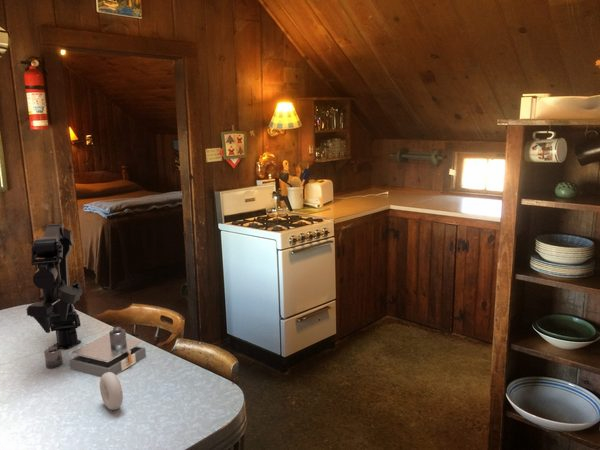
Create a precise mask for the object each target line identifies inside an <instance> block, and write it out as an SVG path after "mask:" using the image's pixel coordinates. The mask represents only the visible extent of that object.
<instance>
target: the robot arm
mask: <svg viewBox="0 0 600 450" xmlns="http://www.w3.org/2000/svg"><path fill="white" fill-rule="evenodd" d="M72 246H74V239H73V234H72V232H71V230H69V229H67V228H65V227H64V224H60V223H58V224H57V223H55V224H54V223H53V224H48V225H46V226H45V231H44V233H43V234H42V236H41V237H37V238H35V239H34V241H33V243H31V256H30V257H31V260H30V261H31V263H30V264H31V266H36V267H37V270H36V271H35V273H34V275H33V277H32V282H33V284H34V286H35V287H36V288H39V289H40V290H41V295H40V296H39V301H38V302H37V301H35V302H34V303H32V304H30V305H28V307H27V308H26V309H25V310H26V316H30V317H32V318H33V319H34V320H35V321H36V322H37V323H38V324H39V325H40V327H41V329H43V331H44V332H45V333H46V334H49V333H50V332H55V337H56V343H54V344H53V345H55V346H57V347H59V348H61V349H64V350H67V349H69V348H72V347H74V346H76V345H78V344H80V343H82V341H81V340H80V339H78V333H77V329H79V327H81V319H80V315H79V314H78V312H77V310H76V308H75V306H74V304H75V303H76V302H77V301H79V300H80V299H81V298H80V297H81V295H82V294H83V293H84V291H83V287H82V283H79V282H76V283H74V284H72V285H71V284H70V285H69V270H68V269H69V268H68V258H69V256H70V255H71V253H72Z"/></svg>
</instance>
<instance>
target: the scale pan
mask: <svg viewBox="0 0 600 450" xmlns="http://www.w3.org/2000/svg"><path fill="white" fill-rule="evenodd" d="M126 342H127V346H126V347H125V348H123V349H120V350H113V349H111V345H110V335H109V333H107V334H105V335H103V336H101V337H98V338H97V339H95V340H93V341H90V342H88V343H86V344H85V345H83V346H81V347H79V348H77V349H75V350H73V351H71V352H70V354H71V355H74V356H82V357H86V358H91V360H96V361H100V362H105V363H109V362H111V361H113V360H114V359H116V358H118V357H120V356H122V355H123V354H126V353H128V354H127V357H128V359H129V362H128V363H129V364H130V363H132V360H131V349H132V348H134V347H136V346H140V344H143V340H139V339H133V338H128V337H126Z"/></svg>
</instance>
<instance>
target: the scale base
mask: <svg viewBox="0 0 600 450" xmlns="http://www.w3.org/2000/svg"><path fill="white" fill-rule="evenodd" d="M146 351H147V350H146V347H143V346H140V345H138V346H136V347H134V348H132V349H131V360H132V363H130V364H129V363H128V362H129V359H128V356H126V357H124V358H123V359H121V360H119V361H117V362H116V363H114V364H112V365H111V366H109V367H107V366H103V365H99V364H95V363H90V361H91V360H92V359H91V358H86V357H82V356H78V355H76V356H75V357H72V358H70V359H69V365H70V368H69V369H70V370H73V371H76V372H80V373H85V374H90V375H93V376H97V377H100V378H101V377H102V375H103V374H104V373H107V372H112V373H114V374H115V375H116V376H117V375H118V374H119V373H121V372H123V371H124V370H126V369H127V368H130V367H131V366H132V365H135V364H136V363H138V362H139V361H141V360H143V359H144V358H146V357H147V354H146ZM125 354H127V355H128V353H125ZM145 356H146V357H145Z"/></svg>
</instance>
